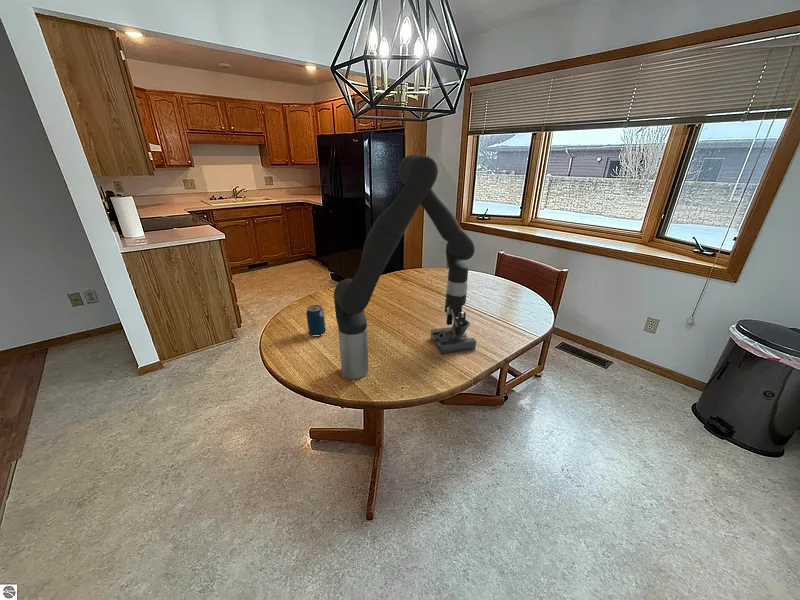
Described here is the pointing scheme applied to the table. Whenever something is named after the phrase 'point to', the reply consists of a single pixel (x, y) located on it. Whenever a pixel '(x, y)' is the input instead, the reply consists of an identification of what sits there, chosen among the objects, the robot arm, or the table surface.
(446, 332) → the pipe
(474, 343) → the v block
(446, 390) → the table surface
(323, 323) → the soda can
